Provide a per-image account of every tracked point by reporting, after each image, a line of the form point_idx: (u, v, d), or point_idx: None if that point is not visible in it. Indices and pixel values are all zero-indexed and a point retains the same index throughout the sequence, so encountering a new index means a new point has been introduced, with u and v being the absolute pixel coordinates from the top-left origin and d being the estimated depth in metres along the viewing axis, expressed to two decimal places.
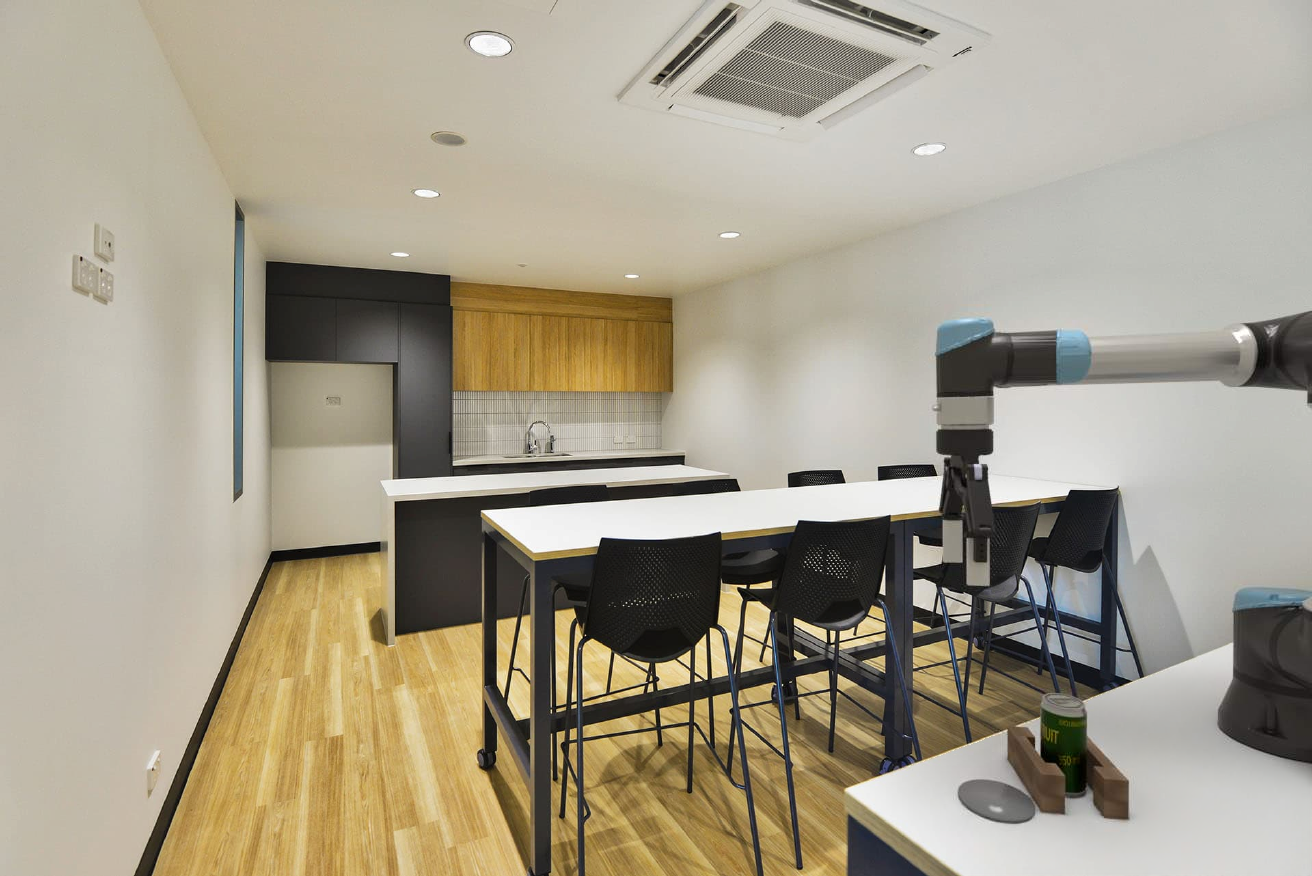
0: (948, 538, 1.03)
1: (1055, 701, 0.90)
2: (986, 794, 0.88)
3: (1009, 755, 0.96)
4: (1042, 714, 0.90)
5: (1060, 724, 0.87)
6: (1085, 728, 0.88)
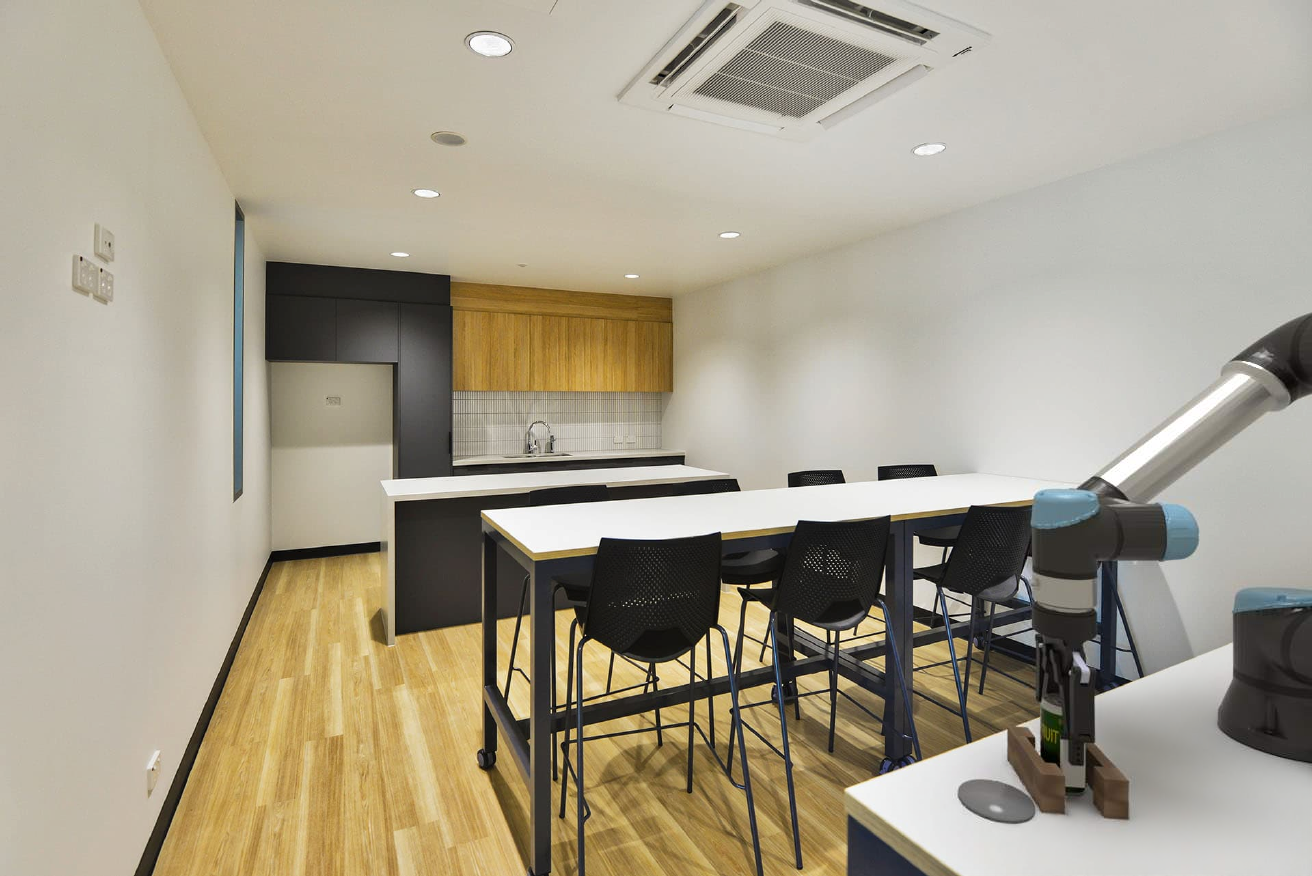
0: None
1: (1055, 701, 0.90)
2: (986, 794, 0.88)
3: (1009, 755, 0.96)
4: (1042, 714, 0.90)
5: (1060, 724, 0.87)
6: None
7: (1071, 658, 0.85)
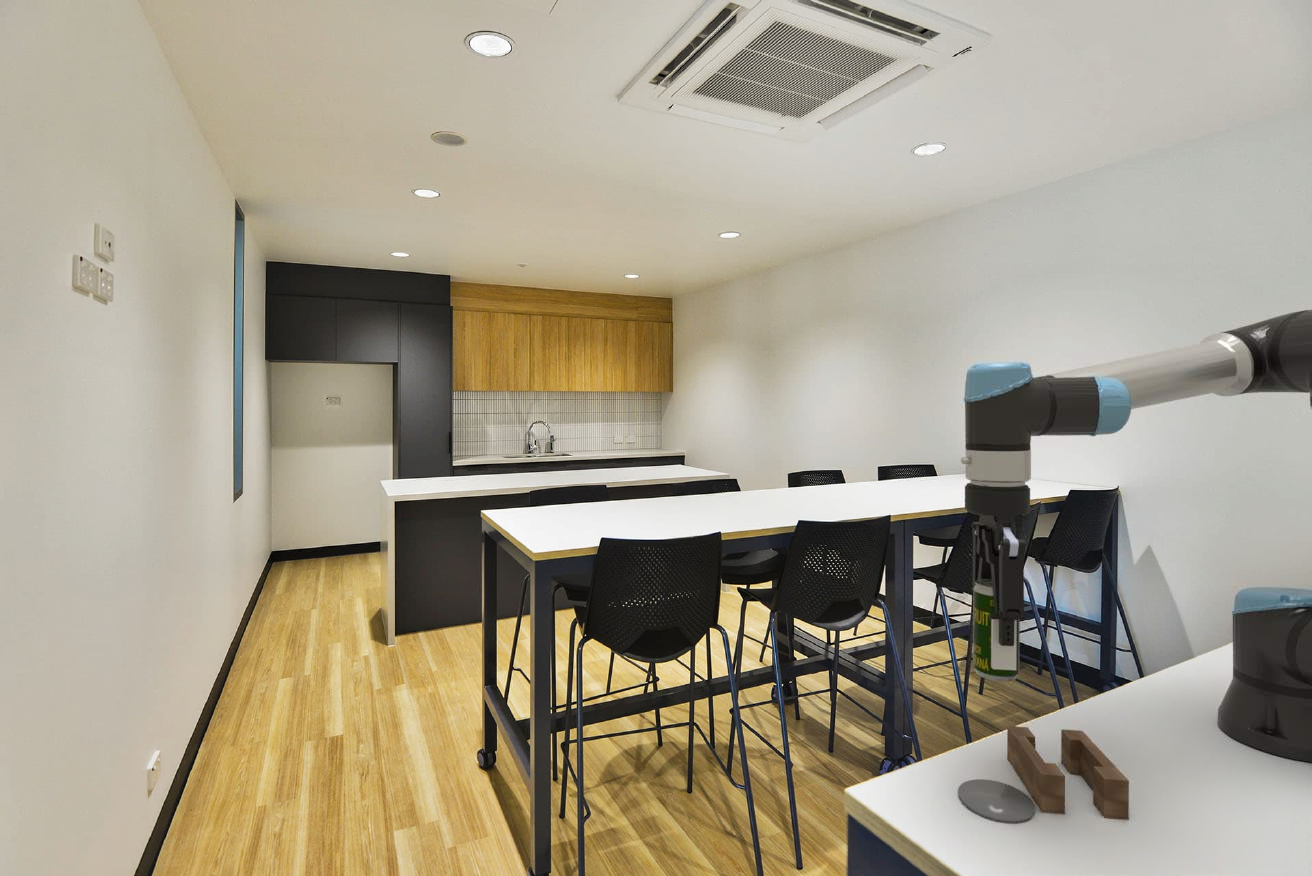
0: None
1: (988, 584, 0.86)
2: (986, 794, 0.88)
3: (1009, 755, 0.96)
4: (974, 598, 0.86)
5: (991, 605, 0.84)
6: None
7: (1001, 533, 0.81)
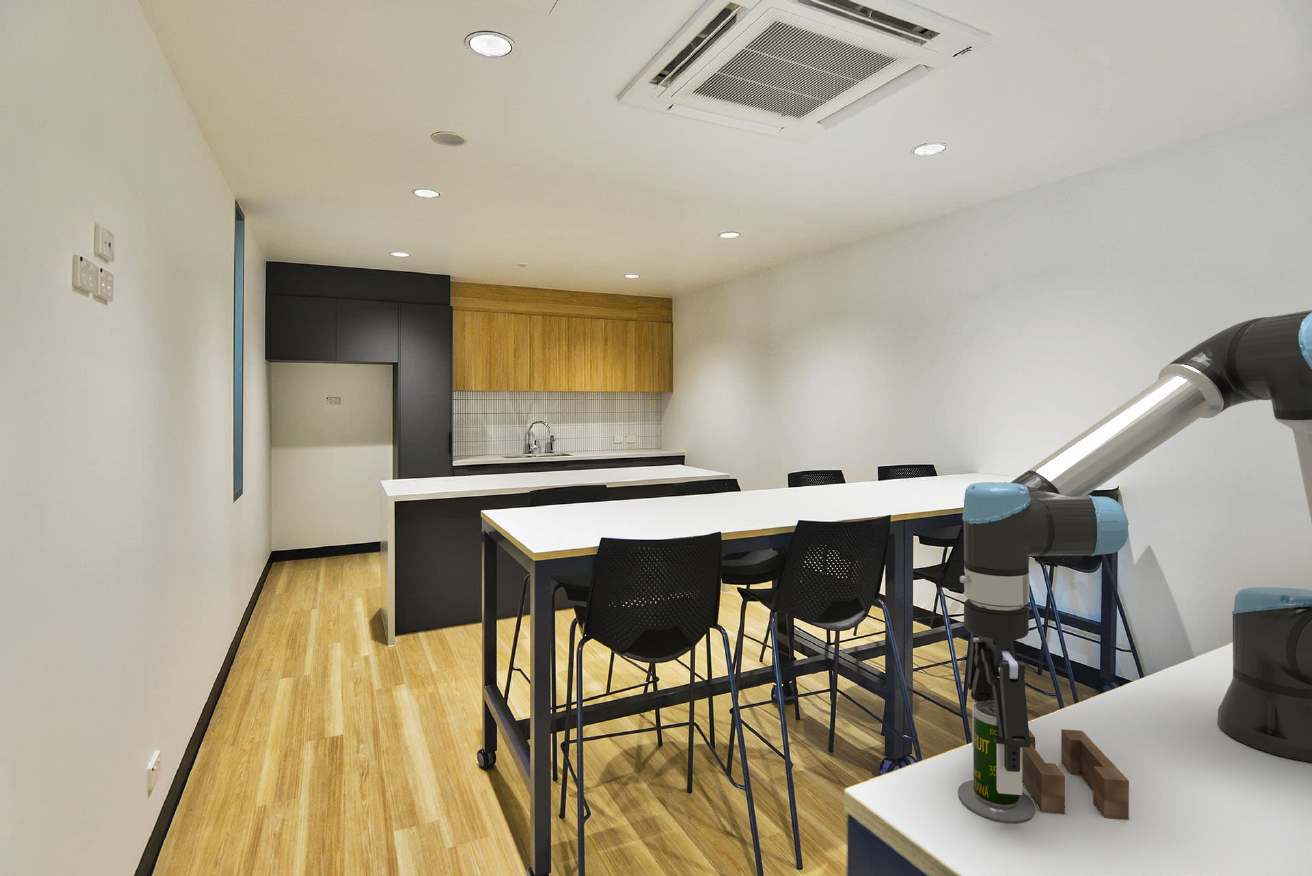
0: None
1: (988, 709, 0.87)
2: None
3: None
4: (974, 723, 0.87)
5: (991, 734, 0.84)
6: None
7: (1000, 655, 0.82)
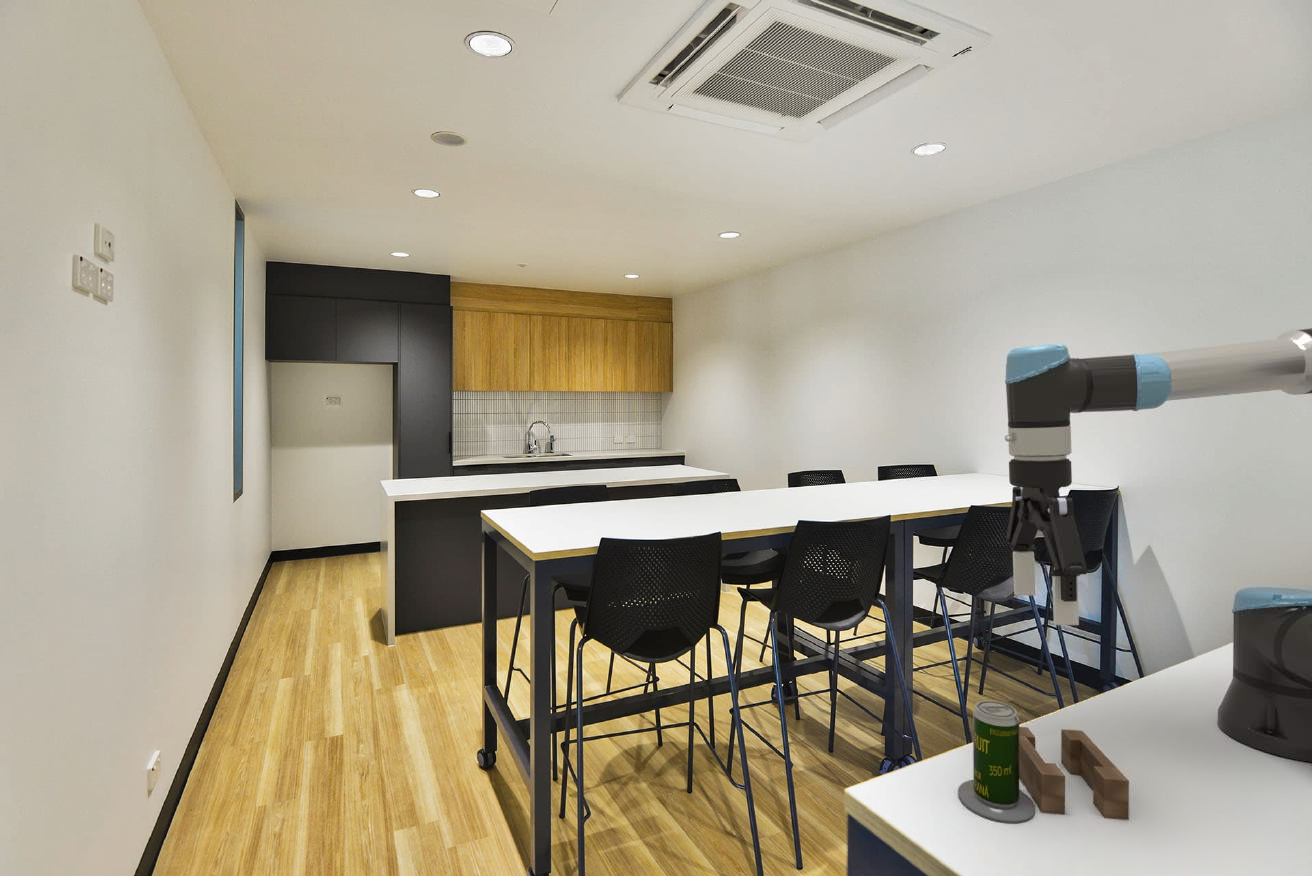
0: (1020, 570, 0.99)
1: (987, 709, 0.87)
2: None
3: None
4: (974, 723, 0.87)
5: (991, 734, 0.84)
6: (1017, 737, 0.84)
7: (1047, 500, 0.88)
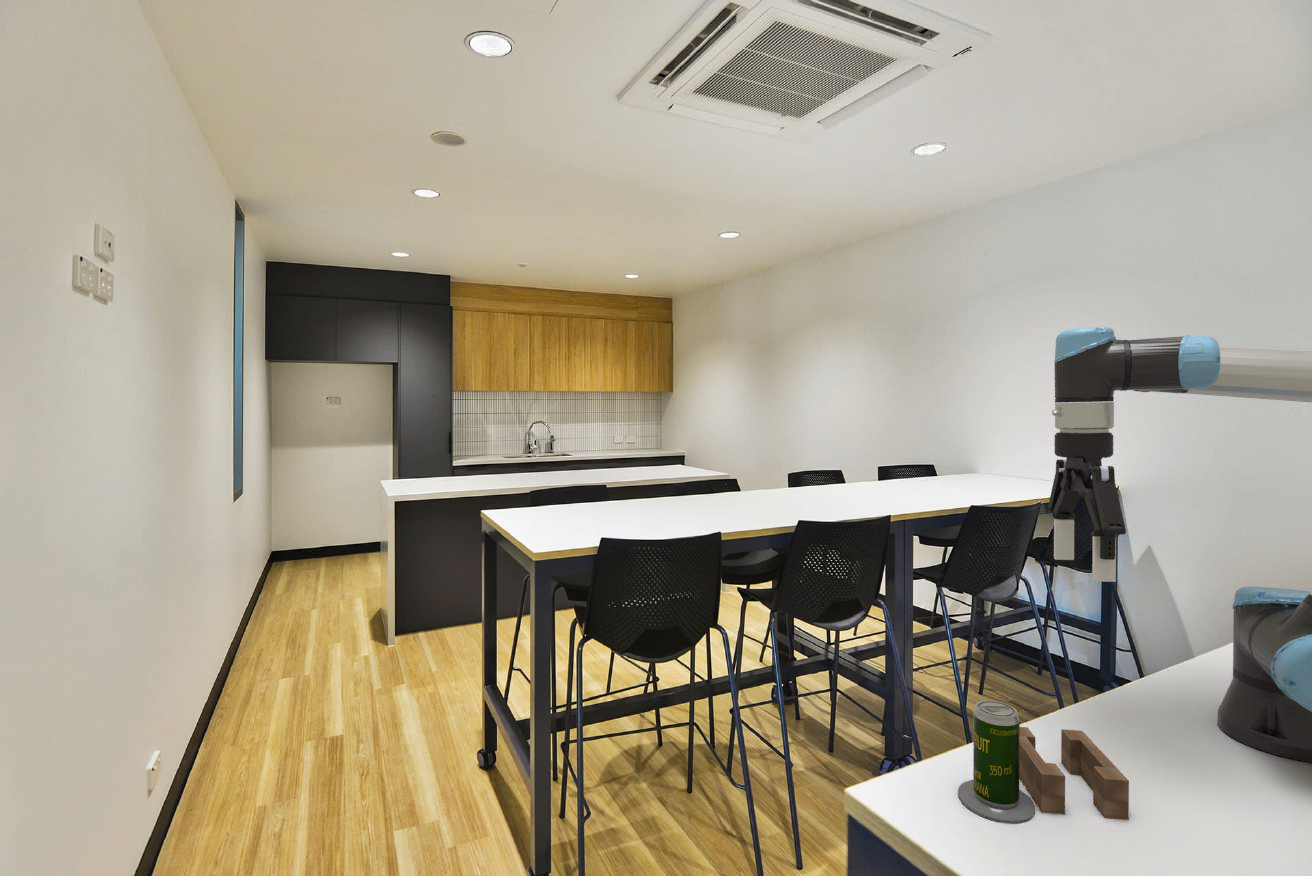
0: (1060, 536, 1.07)
1: (988, 709, 0.87)
2: None
3: None
4: (974, 722, 0.87)
5: (991, 733, 0.84)
6: (1017, 737, 0.84)
7: (1090, 468, 0.96)
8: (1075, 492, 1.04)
